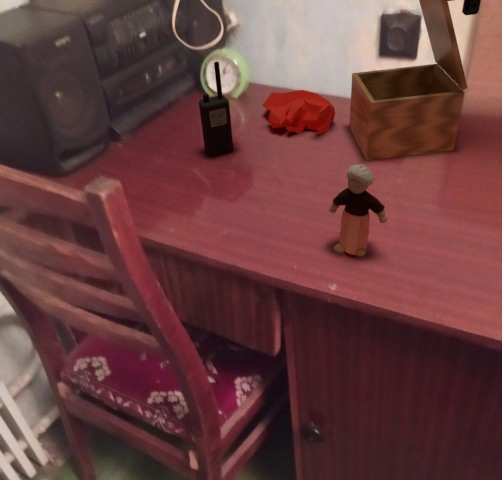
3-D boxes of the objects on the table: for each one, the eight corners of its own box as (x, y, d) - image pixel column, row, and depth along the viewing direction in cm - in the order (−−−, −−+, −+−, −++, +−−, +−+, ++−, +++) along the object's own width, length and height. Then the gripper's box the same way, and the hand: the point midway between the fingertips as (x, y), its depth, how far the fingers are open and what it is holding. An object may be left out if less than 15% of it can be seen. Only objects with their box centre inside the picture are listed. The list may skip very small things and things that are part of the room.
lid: (438, -10, 80) (474, -30, 78) (410, -32, 89) (442, -50, 87) (462, 90, 90) (494, 74, 88) (435, 62, 99) (464, 46, 97)
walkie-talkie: (210, 159, 100) (198, 69, 90) (203, 151, 103) (192, 63, 92) (236, 153, 101) (228, 63, 91) (229, 145, 104) (220, 57, 93)
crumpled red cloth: (278, 104, 115) (278, 77, 112) (343, 121, 108) (344, 93, 104) (241, 126, 109) (238, 99, 105) (306, 146, 102) (306, 118, 98)
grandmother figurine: (323, 256, 79) (325, 170, 70) (329, 240, 81) (332, 155, 72) (381, 263, 77) (390, 176, 68) (385, 246, 79) (395, 160, 70)
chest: (366, 162, 96) (371, 103, 89) (349, 129, 105) (352, 73, 98) (453, 151, 97) (464, 92, 90) (428, 119, 106) (437, 63, 99)
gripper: (537, -131, 71) (505, 18, 82) (489, -143, 81) (466, -9, 92) (476, -125, 70) (452, 24, 82) (436, -138, 81) (420, -4, 92)
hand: (460, 6), depth 87 cm, fingers open, 7 cm apart
